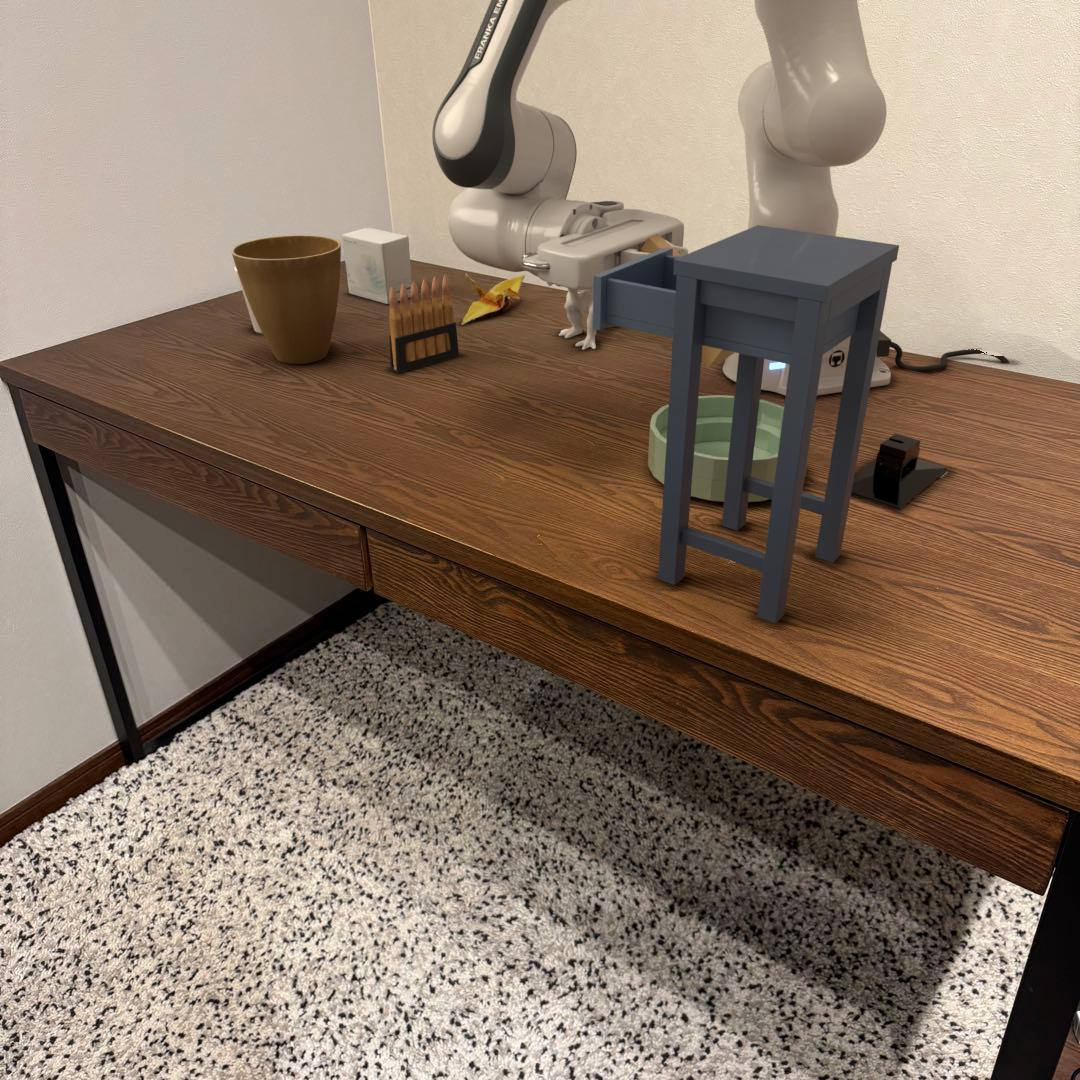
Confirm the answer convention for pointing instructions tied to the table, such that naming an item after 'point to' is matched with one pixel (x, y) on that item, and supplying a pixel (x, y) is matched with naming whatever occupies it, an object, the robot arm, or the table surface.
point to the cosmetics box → (377, 263)
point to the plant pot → (292, 292)
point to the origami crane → (493, 297)
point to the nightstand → (758, 375)
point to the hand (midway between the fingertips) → (676, 261)
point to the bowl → (719, 445)
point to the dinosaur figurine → (579, 315)
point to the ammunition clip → (422, 327)
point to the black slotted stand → (896, 474)
